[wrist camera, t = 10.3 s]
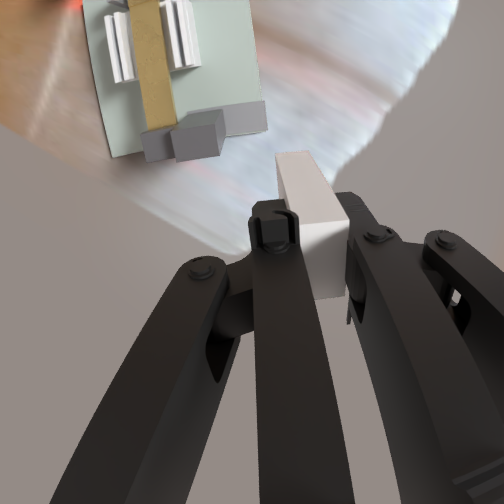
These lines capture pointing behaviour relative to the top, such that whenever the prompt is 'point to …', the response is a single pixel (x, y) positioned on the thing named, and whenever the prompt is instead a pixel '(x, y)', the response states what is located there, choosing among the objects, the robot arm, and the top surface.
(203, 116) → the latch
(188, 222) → the top surface
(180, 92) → the board
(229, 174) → the top surface
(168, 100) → the strap
